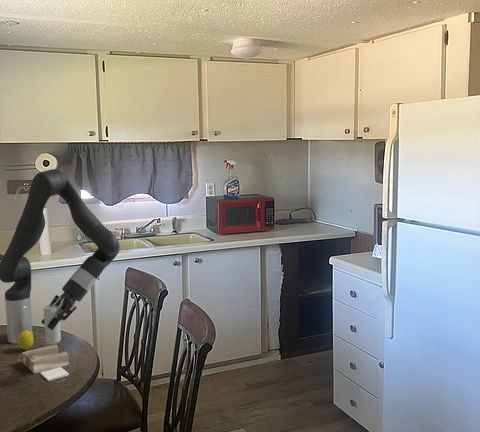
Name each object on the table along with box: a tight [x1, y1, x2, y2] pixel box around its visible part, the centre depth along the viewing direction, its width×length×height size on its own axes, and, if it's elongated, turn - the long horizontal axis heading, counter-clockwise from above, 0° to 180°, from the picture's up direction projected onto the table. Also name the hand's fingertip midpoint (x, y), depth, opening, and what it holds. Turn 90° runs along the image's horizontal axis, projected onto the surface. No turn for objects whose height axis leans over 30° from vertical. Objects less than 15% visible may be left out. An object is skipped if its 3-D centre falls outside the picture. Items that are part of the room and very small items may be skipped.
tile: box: [40, 367, 70, 382], centre depth 183 cm, size 7×7×1 cm
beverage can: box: [43, 304, 62, 345], centre depth 181 cm, size 5×5×12 cm
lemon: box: [17, 330, 34, 351], centre depth 204 cm, size 6×6×8 cm
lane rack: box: [21, 343, 70, 375], centre depth 192 cm, size 12×12×4 cm
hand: (46, 326), depth 180 cm, fingers closed on beverage can, 4 cm apart
